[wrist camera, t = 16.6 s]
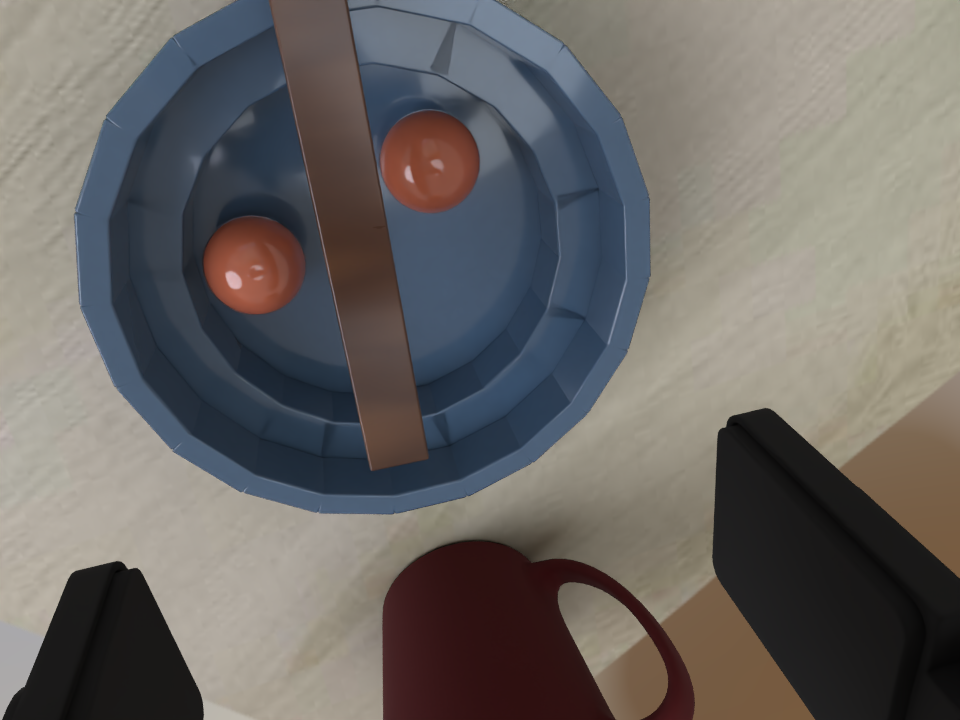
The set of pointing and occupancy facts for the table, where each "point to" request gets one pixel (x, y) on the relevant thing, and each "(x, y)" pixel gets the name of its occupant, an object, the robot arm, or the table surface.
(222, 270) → the bead
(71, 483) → the table surface
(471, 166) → the bead
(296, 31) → the stick
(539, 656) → the mug
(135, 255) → the bowl
